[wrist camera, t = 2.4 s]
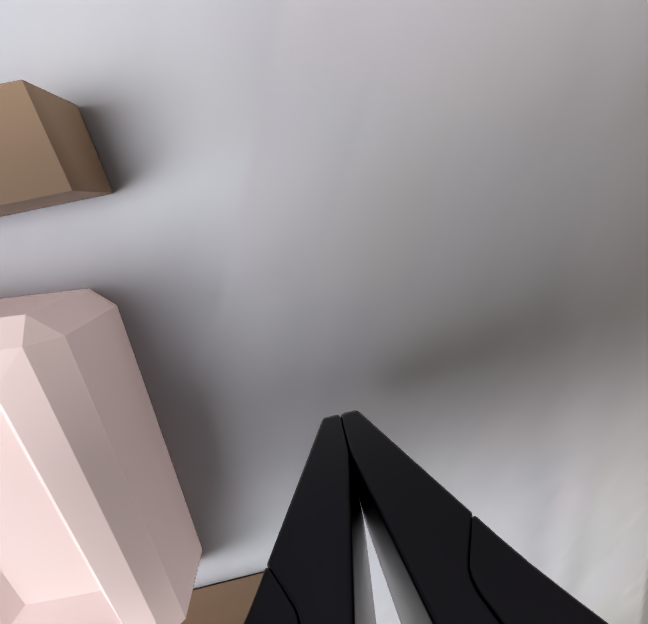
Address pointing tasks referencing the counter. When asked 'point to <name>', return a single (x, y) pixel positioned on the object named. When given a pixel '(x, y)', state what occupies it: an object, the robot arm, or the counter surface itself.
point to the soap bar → (85, 473)
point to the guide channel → (67, 186)
